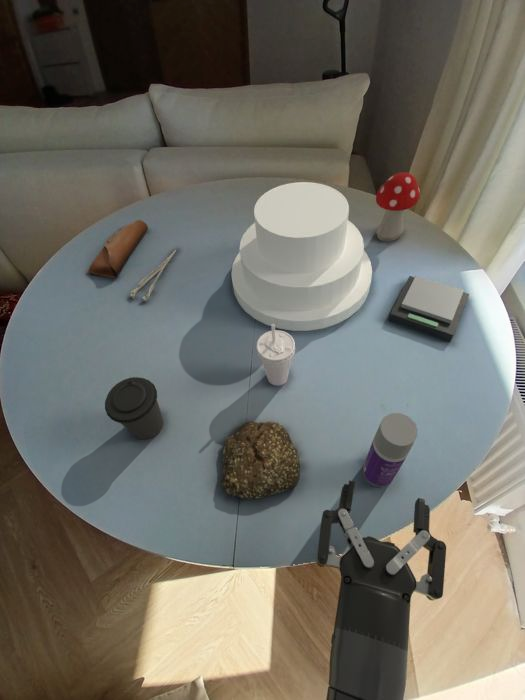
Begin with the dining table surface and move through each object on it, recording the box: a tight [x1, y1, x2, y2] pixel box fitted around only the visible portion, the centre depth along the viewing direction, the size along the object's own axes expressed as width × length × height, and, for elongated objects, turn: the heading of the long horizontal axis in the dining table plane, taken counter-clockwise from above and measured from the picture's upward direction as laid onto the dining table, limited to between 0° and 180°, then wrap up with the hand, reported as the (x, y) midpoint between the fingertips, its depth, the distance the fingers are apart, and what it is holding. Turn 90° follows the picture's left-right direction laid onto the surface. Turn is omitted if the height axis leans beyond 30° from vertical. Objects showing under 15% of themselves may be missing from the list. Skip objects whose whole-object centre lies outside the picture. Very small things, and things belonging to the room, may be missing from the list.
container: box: [362, 412, 419, 488], centre depth 54 cm, size 5×5×15 cm
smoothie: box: [256, 324, 296, 387], centre depth 66 cm, size 6×6×14 cm
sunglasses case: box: [87, 219, 149, 279], centre depth 96 cm, size 18×7×7 cm, turn 167°
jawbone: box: [129, 249, 177, 302], centre depth 91 cm, size 18×5×2 cm, turn 160°
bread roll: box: [220, 420, 301, 500], centre depth 61 cm, size 13×12×5 cm
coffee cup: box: [104, 376, 164, 441], centre depth 64 cm, size 8×8×10 cm
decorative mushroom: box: [375, 171, 421, 242], centre depth 88 cm, size 10×9×15 cm
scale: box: [388, 275, 470, 343], centre depth 78 cm, size 12×12×3 cm
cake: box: [230, 181, 373, 332], centre depth 80 cm, size 30×30×18 cm
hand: (384, 491), depth 50 cm, fingers open, 8 cm apart
